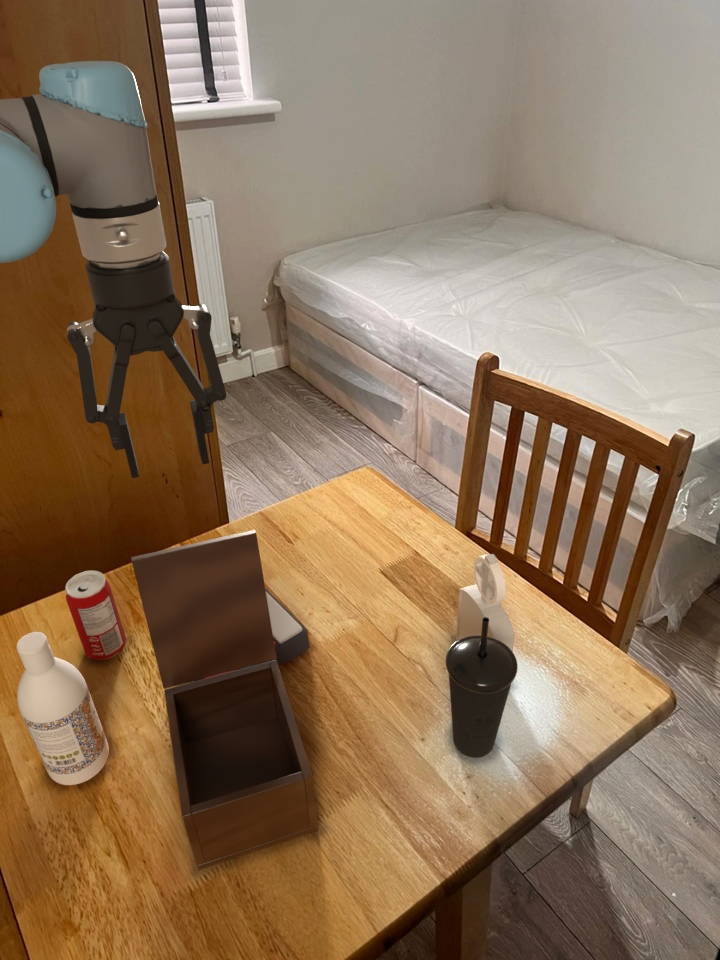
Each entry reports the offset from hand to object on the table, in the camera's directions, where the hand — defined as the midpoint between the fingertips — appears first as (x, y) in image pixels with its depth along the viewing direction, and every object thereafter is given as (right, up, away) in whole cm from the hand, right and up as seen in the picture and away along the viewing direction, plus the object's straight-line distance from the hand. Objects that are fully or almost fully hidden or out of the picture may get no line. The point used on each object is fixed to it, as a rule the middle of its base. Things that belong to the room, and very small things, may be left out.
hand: (169, 463), depth 80 cm
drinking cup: (+34, -33, +6) cm, 48 cm away
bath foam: (-12, -35, +5) cm, 37 cm away
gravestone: (+37, -26, +16) cm, 48 cm away
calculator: (+5, -25, +18) cm, 32 cm away
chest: (+8, -36, +2) cm, 37 cm away
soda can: (-14, -25, +20) cm, 35 cm away
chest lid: (+5, -16, -2) cm, 17 cm away
